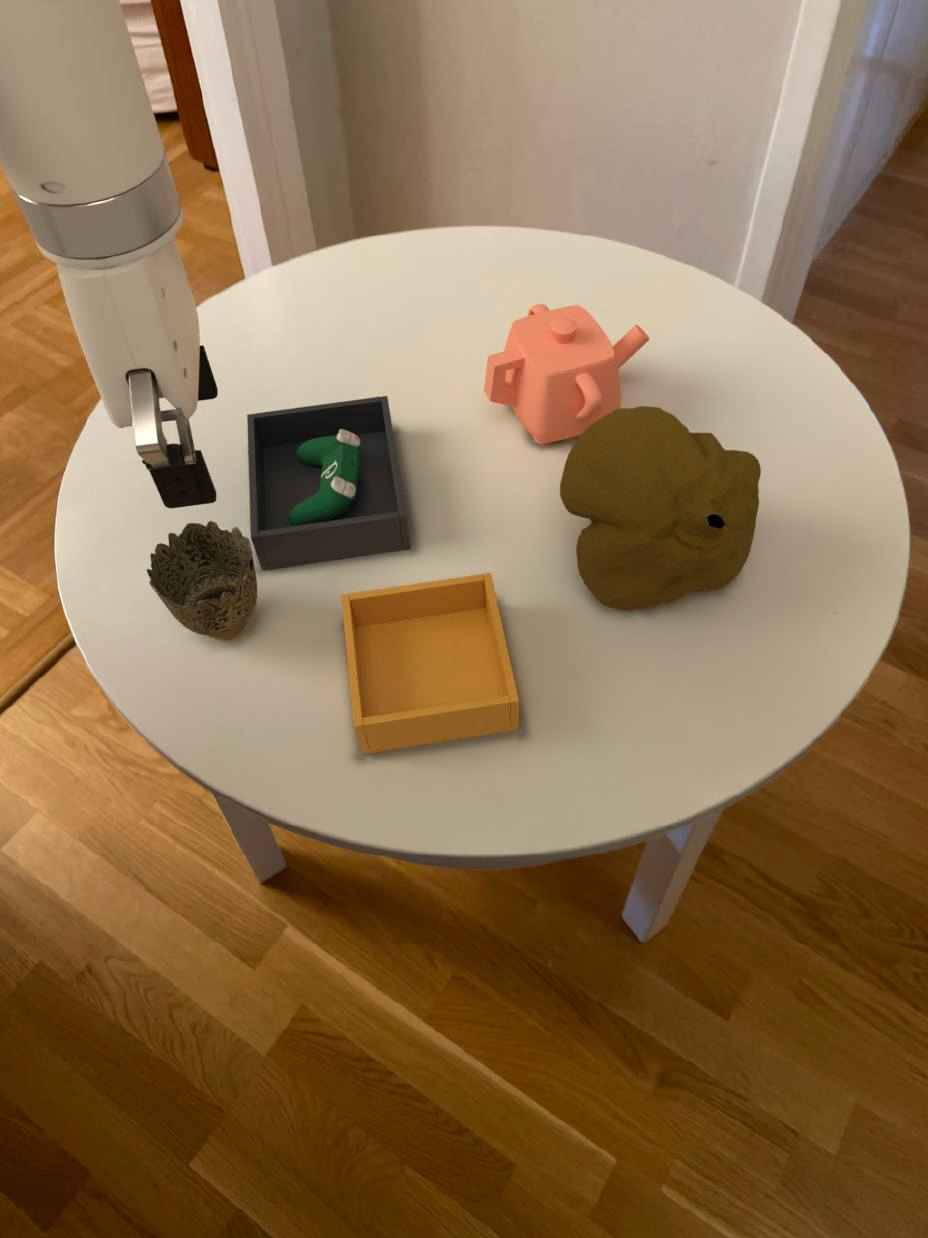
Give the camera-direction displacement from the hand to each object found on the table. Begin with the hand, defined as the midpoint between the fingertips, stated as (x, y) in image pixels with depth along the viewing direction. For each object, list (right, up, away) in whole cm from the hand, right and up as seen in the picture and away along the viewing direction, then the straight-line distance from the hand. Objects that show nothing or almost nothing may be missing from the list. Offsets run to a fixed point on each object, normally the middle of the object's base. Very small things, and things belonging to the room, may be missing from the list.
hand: (193, 447), depth 61 cm
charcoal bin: (+6, -1, +19) cm, 20 cm away
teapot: (+27, +7, +24) cm, 37 cm away
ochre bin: (+15, -15, +8) cm, 23 cm away
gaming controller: (+6, -1, +19) cm, 20 cm away
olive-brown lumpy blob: (+33, -8, +13) cm, 36 cm away
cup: (-1, -12, +12) cm, 17 cm away
